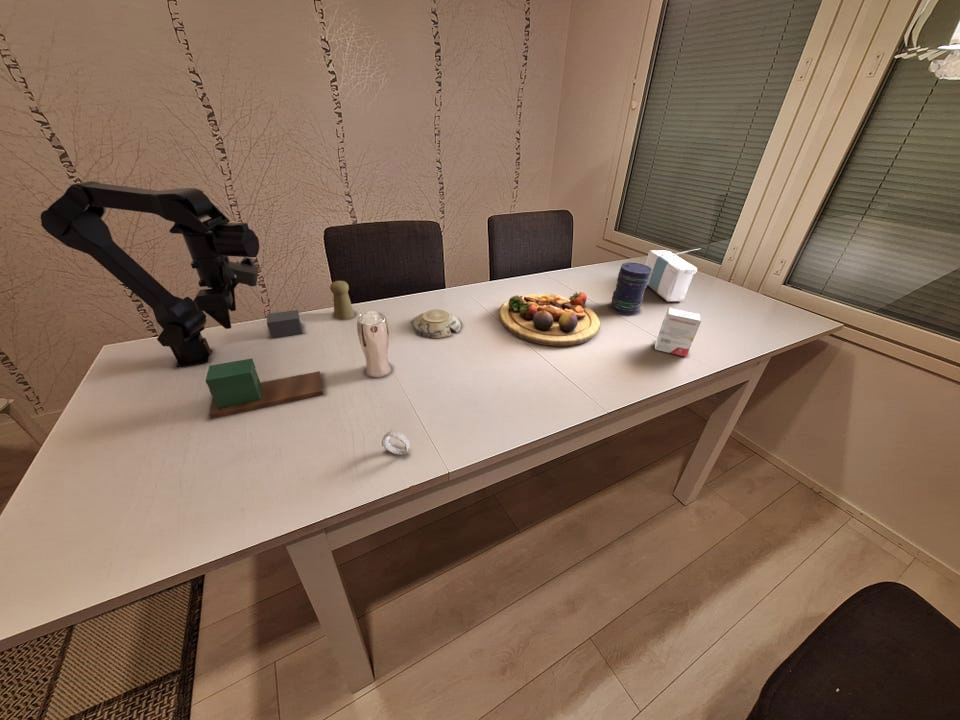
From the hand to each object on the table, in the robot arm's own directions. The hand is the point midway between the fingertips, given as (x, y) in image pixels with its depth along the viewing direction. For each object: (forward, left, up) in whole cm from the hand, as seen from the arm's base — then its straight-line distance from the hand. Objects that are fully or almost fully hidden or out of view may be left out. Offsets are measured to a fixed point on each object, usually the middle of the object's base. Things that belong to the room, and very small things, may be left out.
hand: (231, 319), depth 87 cm
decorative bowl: (+51, +1, -12) cm, 53 cm away
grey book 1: (+10, +12, -9) cm, 18 cm away
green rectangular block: (0, -17, -6) cm, 18 cm away
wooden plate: (+86, -8, -12) cm, 87 cm away
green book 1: (0, -17, -8) cm, 19 cm away
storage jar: (+117, -9, -12) cm, 118 cm away
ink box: (+111, -35, -12) cm, 117 cm away
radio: (+142, -2, -12) cm, 143 cm away
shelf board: (+6, -17, -12) cm, 21 cm away
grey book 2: (+10, +12, -12) cm, 20 cm away
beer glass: (+30, -16, -12) cm, 36 cm away
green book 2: (0, -17, -11) cm, 20 cm away
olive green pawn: (+26, +17, -12) cm, 34 cm away
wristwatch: (+28, -44, -12) cm, 53 cm away
